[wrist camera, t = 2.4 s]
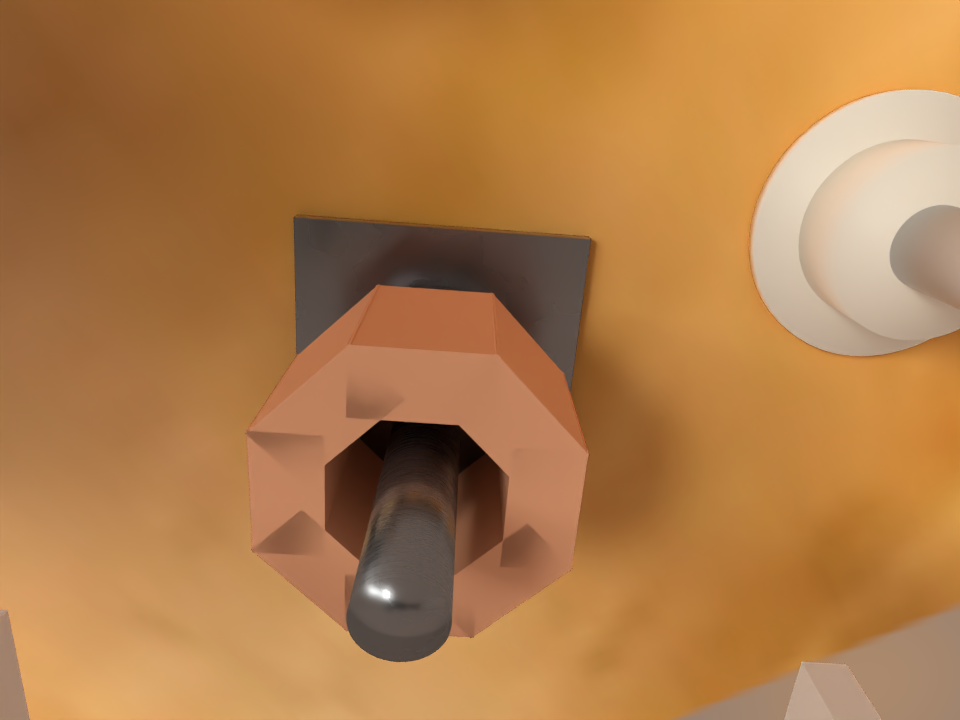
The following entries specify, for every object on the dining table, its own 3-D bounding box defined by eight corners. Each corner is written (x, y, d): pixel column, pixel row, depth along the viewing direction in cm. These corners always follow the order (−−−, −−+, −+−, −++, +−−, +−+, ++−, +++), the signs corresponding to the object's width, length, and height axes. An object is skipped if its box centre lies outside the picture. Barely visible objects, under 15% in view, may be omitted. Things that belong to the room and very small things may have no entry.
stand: (301, 470, 28) (156, 794, 15) (297, 214, 24) (99, 357, 11) (555, 486, 28) (621, 816, 15) (588, 236, 24) (710, 398, 12)
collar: (299, 517, 23) (255, 626, 18) (294, 278, 20) (240, 335, 15) (544, 531, 23) (561, 643, 19) (574, 298, 20) (603, 360, 16)
